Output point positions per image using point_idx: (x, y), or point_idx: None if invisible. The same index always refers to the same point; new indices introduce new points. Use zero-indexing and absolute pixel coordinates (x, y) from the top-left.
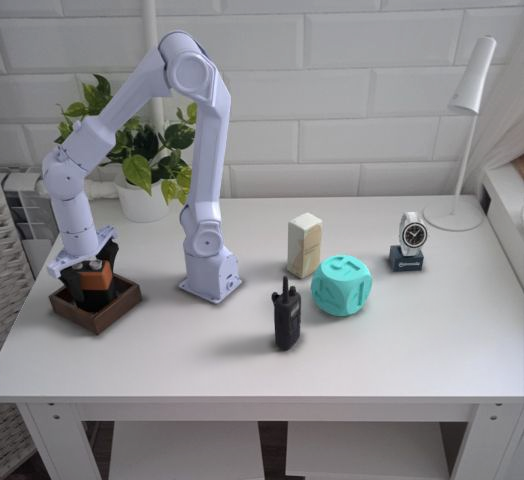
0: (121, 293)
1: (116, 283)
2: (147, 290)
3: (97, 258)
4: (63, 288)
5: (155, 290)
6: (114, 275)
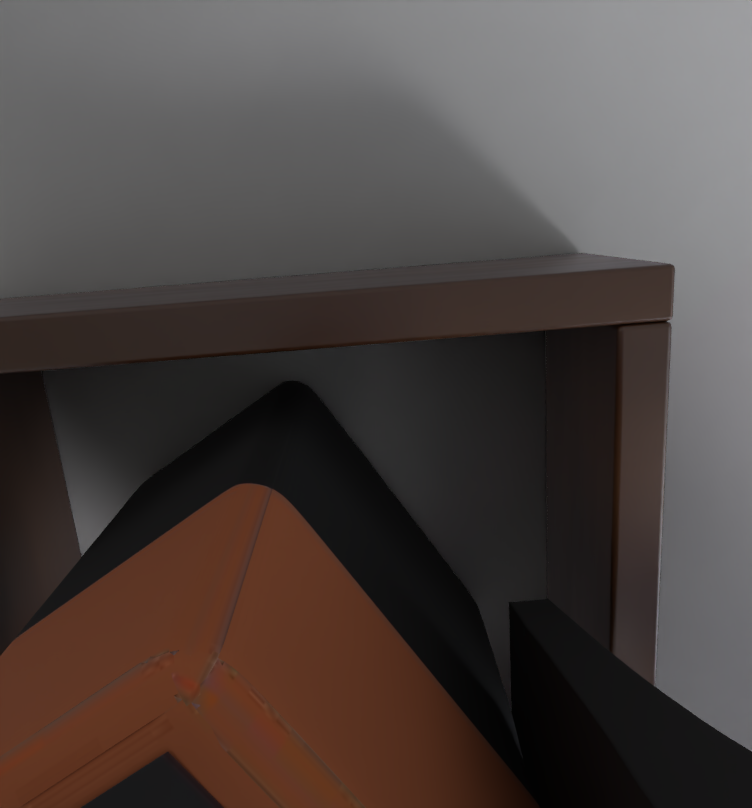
0: (547, 570)
1: (578, 594)
2: (692, 688)
3: (628, 802)
4: (72, 359)
5: (723, 730)
6: (623, 631)
